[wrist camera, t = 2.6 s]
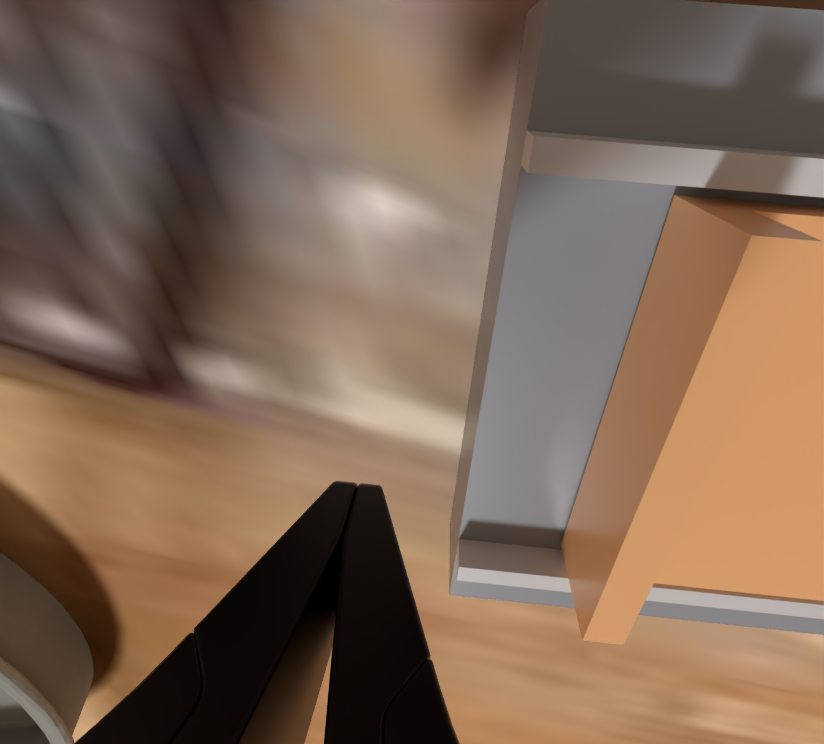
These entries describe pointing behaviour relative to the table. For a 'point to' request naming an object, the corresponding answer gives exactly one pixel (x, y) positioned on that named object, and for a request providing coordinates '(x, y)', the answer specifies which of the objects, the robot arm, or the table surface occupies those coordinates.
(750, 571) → the shutter
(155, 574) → the table surface
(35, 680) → the cake pan
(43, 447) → the table surface
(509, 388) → the socket plate
